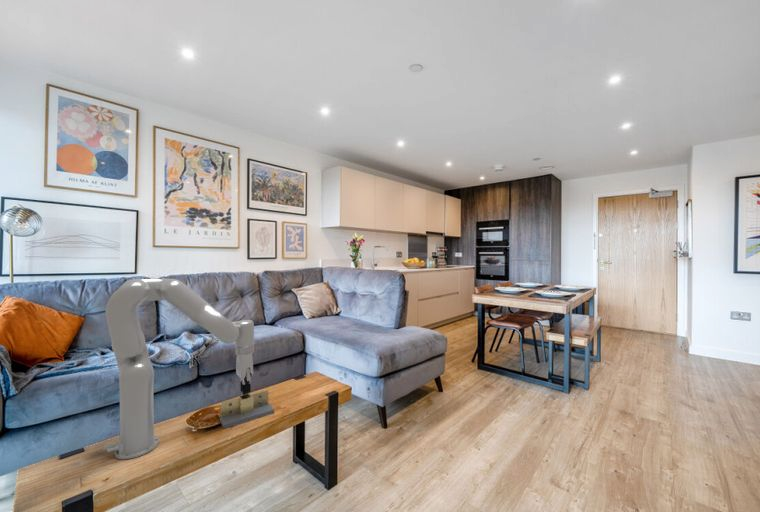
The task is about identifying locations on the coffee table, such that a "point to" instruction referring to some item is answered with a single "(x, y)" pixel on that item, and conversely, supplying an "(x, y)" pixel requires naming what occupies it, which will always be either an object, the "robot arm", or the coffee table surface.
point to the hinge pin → (245, 394)
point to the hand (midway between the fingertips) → (245, 391)
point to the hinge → (244, 404)
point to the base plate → (246, 416)
